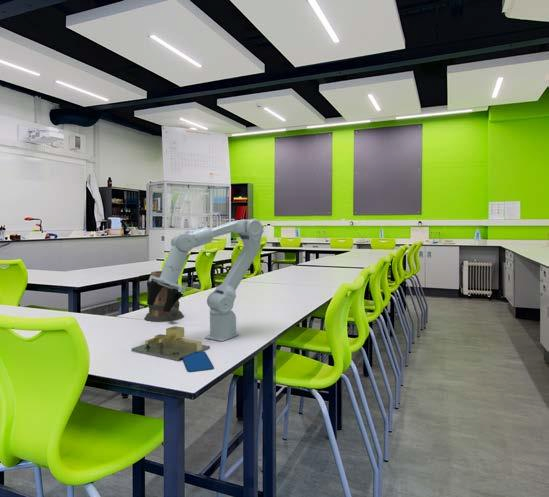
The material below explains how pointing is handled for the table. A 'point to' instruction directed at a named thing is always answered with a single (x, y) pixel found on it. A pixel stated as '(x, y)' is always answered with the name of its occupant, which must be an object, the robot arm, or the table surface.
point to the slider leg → (172, 334)
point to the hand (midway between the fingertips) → (157, 308)
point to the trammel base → (170, 348)
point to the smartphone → (197, 362)
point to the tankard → (157, 309)
